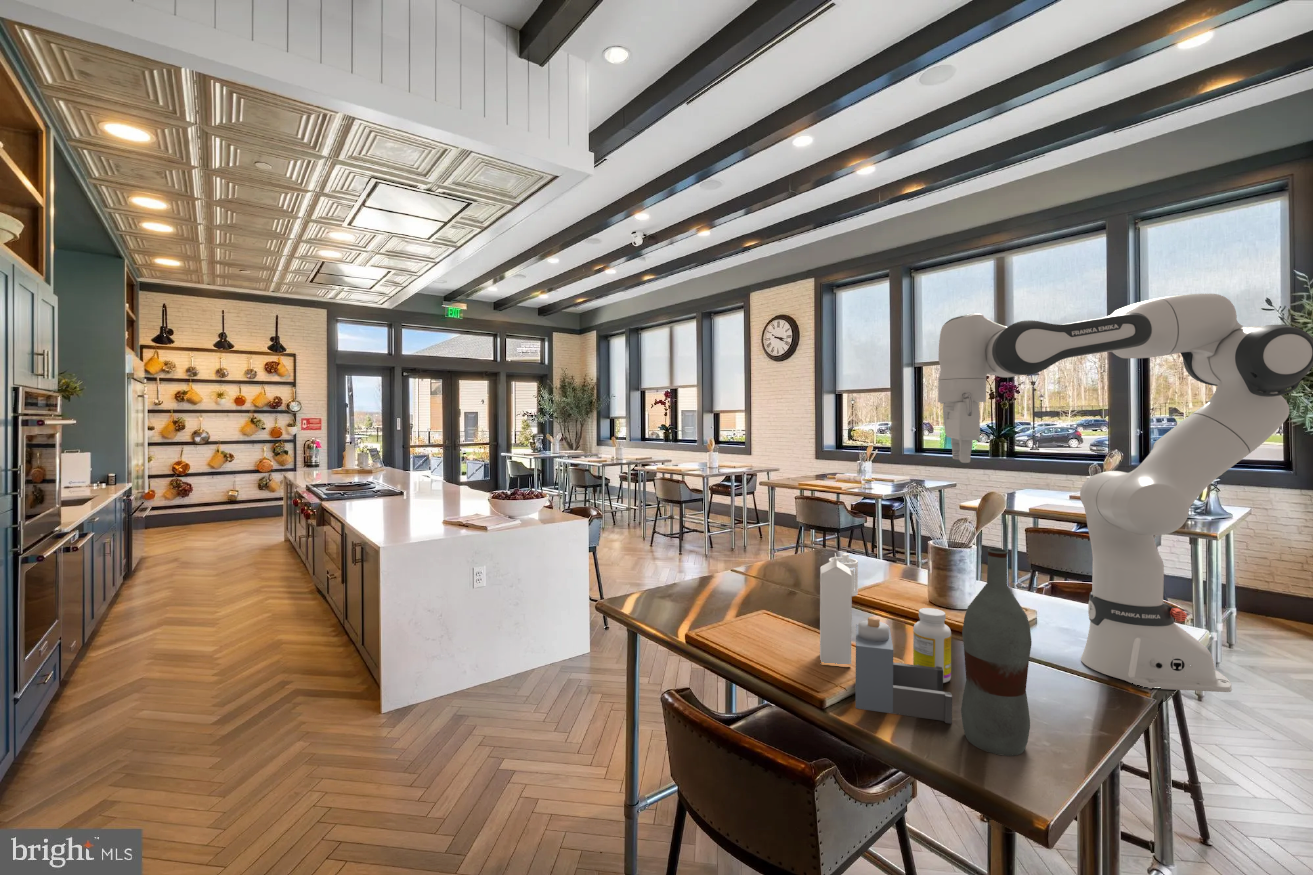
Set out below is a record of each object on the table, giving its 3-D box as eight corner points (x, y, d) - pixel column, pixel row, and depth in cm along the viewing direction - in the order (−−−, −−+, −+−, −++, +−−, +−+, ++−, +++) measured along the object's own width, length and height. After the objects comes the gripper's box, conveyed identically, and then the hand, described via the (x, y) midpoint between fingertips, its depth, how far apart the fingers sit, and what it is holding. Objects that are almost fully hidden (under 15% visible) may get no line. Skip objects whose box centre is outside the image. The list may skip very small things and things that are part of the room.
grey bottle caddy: (939, 683, 112) (940, 609, 111) (951, 723, 97) (952, 638, 97) (855, 673, 116) (856, 601, 116) (855, 709, 102) (856, 628, 101)
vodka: (962, 749, 90) (965, 553, 88) (958, 721, 98) (961, 541, 97) (1035, 764, 86) (1039, 559, 85) (1024, 733, 94) (1028, 546, 93)
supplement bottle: (943, 670, 118) (943, 606, 117) (956, 685, 111) (957, 617, 110) (908, 669, 118) (908, 605, 118) (919, 684, 112) (920, 616, 111)
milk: (820, 665, 120) (820, 558, 119) (819, 654, 126) (819, 551, 125) (852, 668, 119) (852, 559, 118) (849, 656, 124) (849, 552, 124)
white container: (860, 612, 152) (860, 554, 152) (853, 620, 146) (854, 560, 146) (833, 607, 156) (833, 551, 156) (825, 615, 150) (825, 556, 150)
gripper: (989, 391, 111) (988, 465, 112) (970, 395, 130) (969, 457, 131) (952, 392, 113) (951, 464, 114) (938, 395, 132) (938, 457, 133)
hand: (961, 460), depth 122 cm, fingers open, 8 cm apart
